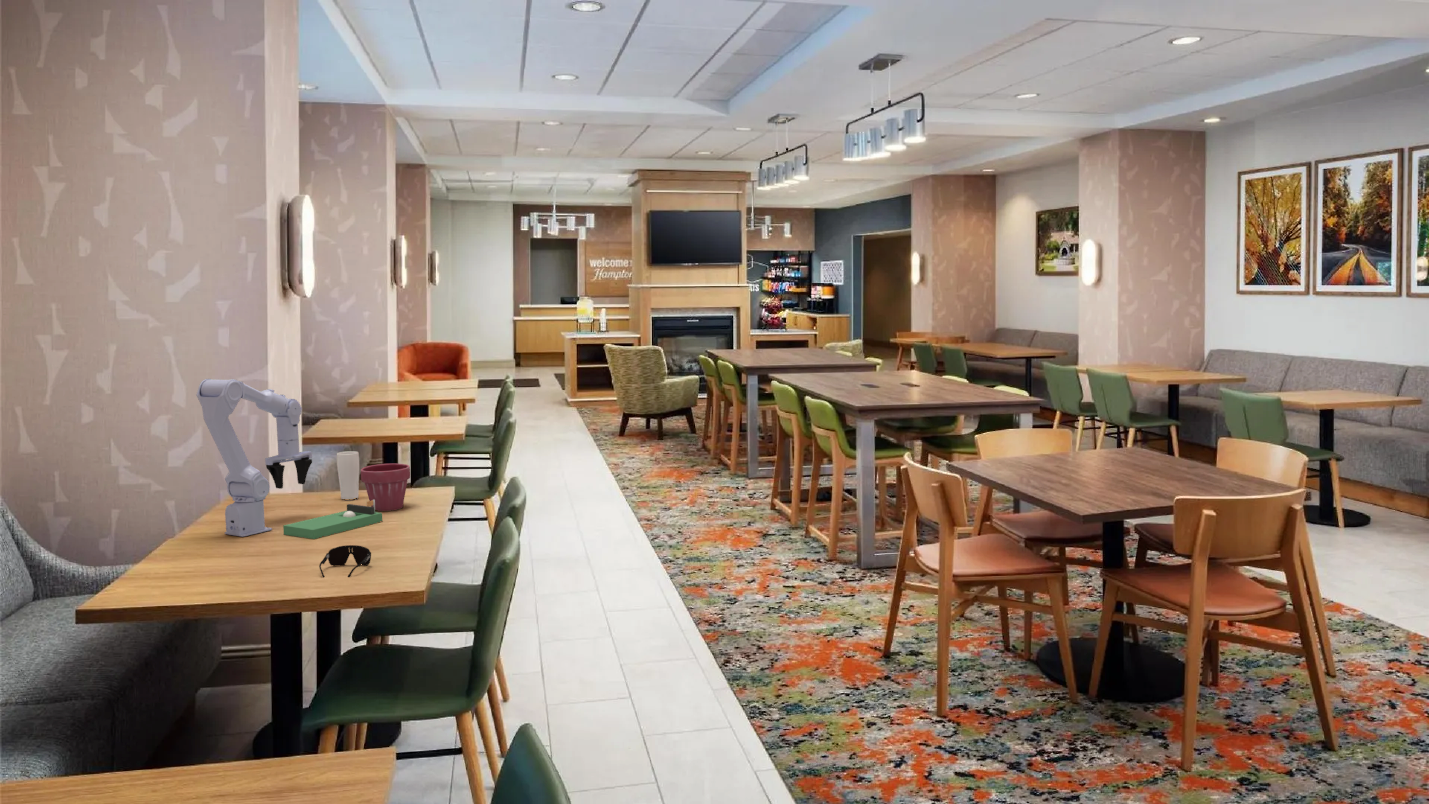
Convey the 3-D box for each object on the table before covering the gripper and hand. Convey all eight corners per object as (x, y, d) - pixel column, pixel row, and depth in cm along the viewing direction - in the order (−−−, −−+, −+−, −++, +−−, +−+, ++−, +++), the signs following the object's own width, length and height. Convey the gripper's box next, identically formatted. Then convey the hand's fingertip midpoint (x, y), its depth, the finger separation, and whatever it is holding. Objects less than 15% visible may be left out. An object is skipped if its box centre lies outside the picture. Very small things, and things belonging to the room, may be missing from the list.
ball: (351, 527, 294) (351, 516, 293) (340, 524, 295) (339, 513, 293) (358, 520, 298) (358, 510, 296) (347, 517, 298) (347, 507, 297)
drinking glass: (364, 497, 334) (362, 451, 333) (355, 501, 328) (353, 454, 326) (344, 496, 335) (342, 451, 333) (334, 501, 328) (332, 454, 327)
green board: (313, 539, 277) (312, 515, 276) (283, 534, 283) (282, 511, 282) (382, 521, 298) (381, 499, 297) (353, 517, 304) (352, 495, 303)
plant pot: (361, 514, 308) (359, 472, 306) (363, 505, 321) (361, 464, 320) (411, 511, 311) (409, 469, 310) (411, 502, 325) (410, 462, 323)
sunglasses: (374, 564, 251) (372, 544, 250) (359, 583, 240) (357, 563, 238) (330, 564, 251) (328, 545, 250) (313, 584, 239) (311, 564, 238)
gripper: (275, 443, 291) (278, 491, 292) (318, 437, 304) (320, 483, 305) (259, 442, 294) (262, 489, 296) (301, 435, 307) (304, 481, 308)
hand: (290, 486), depth 301 cm, fingers open, 7 cm apart
